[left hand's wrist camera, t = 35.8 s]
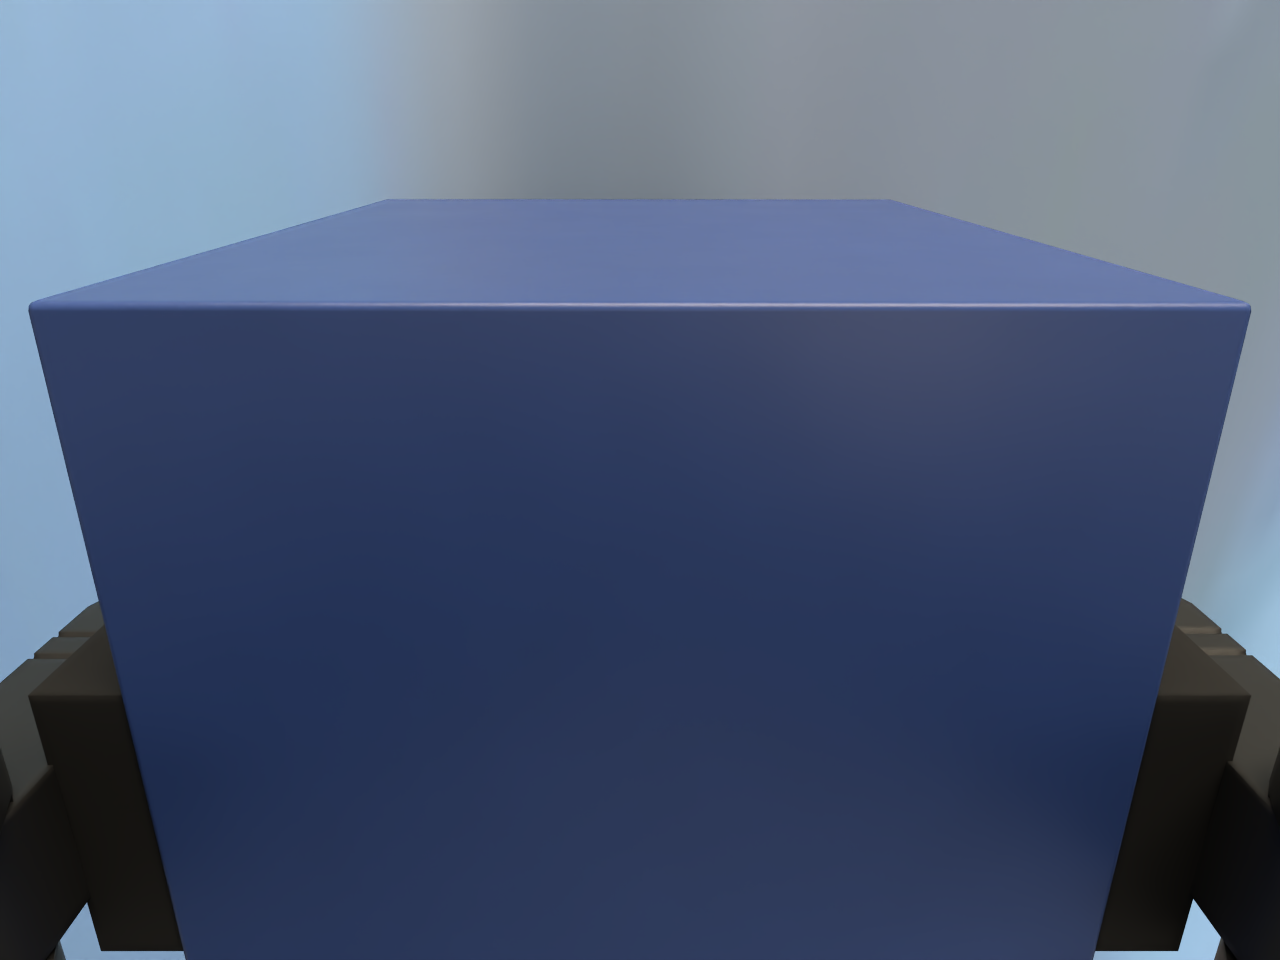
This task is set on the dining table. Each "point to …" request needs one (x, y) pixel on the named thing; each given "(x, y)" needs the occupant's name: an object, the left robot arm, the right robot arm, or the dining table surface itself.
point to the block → (639, 574)
